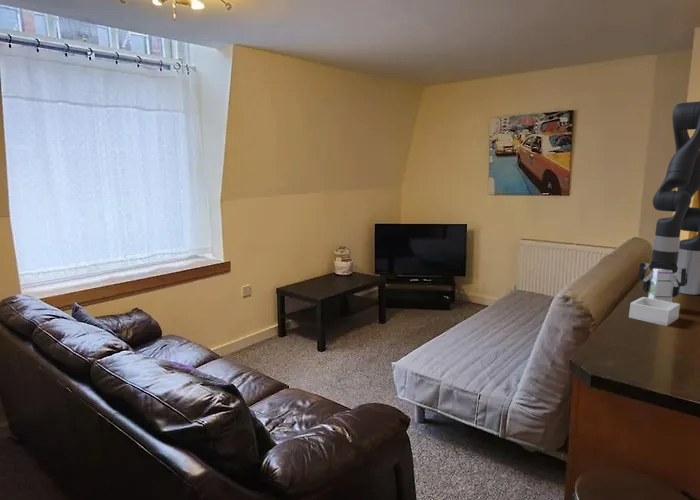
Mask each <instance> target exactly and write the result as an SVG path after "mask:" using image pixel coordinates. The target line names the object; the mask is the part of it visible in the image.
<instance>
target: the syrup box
mask: <svg viewBox="0 0 700 500" xmlns="http://www.w3.org/2000/svg"><path fill="white" fill-rule="evenodd" d="M653 270H654V271H653V276H652V277H651V278H650V280H649V281H650V282H649V291H648V292H647V298H652V299H657V300H662V301H667V302H672V303H673V297H672V295H673V286H674V285H673V283H672V282H671V281H670V280H669V273H670V274H671V275H672V276H673V278H674V277H675V273H673V271H672V270H664V269H655V268H654V269H653ZM651 272H652V271H651V270H650V272H649V274H650V273H651ZM668 272H669V273H668ZM651 275H652V274H651ZM670 278H671V277H670Z"/></svg>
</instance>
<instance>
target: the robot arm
mask: <svg viewBox="0 0 700 500" xmlns="http://www.w3.org/2000/svg"><path fill="white" fill-rule="evenodd" d="M671 119H672V127H673V128H672V130H673V136H674V143H675V145H674V146H675V154H673V156H672V157H671V159H670V160H669V164H668V166H667V169H666V170H667V171H666V175H665V178H664V179H663V181H662V183H661V184H660V186H659V188H658V189H657V191H656V192H655V194H654V196H653V199H652V206H653V208H654V210H656V211H659V212H660V211H661V212H673V213H674V214H673V215H672V216H671V217H664V218H663V217H662V218H658V219H657V221H656V226H655V234H654V239H653V243H652V251H651V261H650V263H649V262H646V261H643V262H641V263H640V264H639V270H638V274H637V275H638V276H637V278H638V279H639V280H642V282H643V285H642V290H643V291H644V293H648V291H649V282H650V278H651V277H652V276H653V271H654V270H653V269H654V268H655V269H664V270H672V271H673V273H675V277H674V278H673V276H672V275H671V274H670V273H669V272H668V273H669V280H670V281H671V282H672V283H673V285H674V286H673V295H672V298H676V297H678V296H679V295H680V294H684V295H700V207H690V205H691V203H692V198H693V197H694V195H695V193H697V191H698V190H699V189H700V101H687V102H680V103H677V104H675V106H674V108H673V111H672V118H671ZM689 130H694V132H693V134H692V136H691V137H690V134H689ZM674 189H677V190H674ZM681 231H685V232H696V233H697V235H696V236H694V237H691V238H686V239H681ZM680 239H681V240H680ZM648 268H649V270H650V272H651V271H652V272H651V273H650V272H649V274H647V276H645V274H646V270H647V269H648ZM651 274H652V275H651ZM670 277H671V278H670Z"/></svg>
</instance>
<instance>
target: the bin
mask: <svg viewBox="0 0 700 500" xmlns="http://www.w3.org/2000/svg"><path fill="white" fill-rule="evenodd" d="M680 306H681V304H680V303H679V302H678V303H677V302H673V301H672V302H667V301H662V300H657V299H652V298H648V297H647V296H642V297H639V298H638V299H636V300H633V301H632V302H630V304H629V310H628V311H629V312H628V318H629V319H634V320H639V321H643V322H648V323H651V324H652V323H653V324H655V325H660V326H665V327H668V326H669V325H670V324H672V323H674V322H675V321H677V320H679V315H680Z"/></svg>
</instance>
